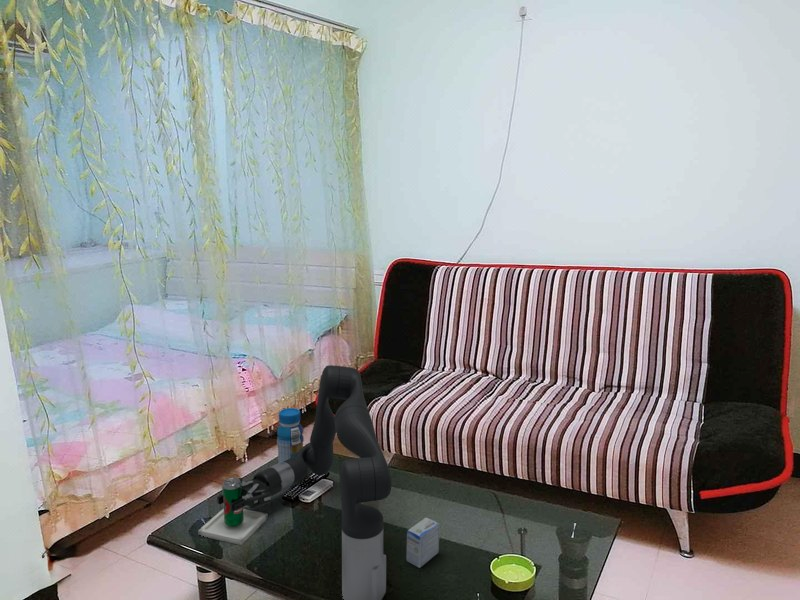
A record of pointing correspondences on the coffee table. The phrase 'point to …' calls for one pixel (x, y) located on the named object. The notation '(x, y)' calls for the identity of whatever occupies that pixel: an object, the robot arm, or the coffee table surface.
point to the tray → (236, 533)
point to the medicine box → (422, 542)
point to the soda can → (230, 495)
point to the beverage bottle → (289, 434)
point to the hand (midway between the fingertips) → (224, 504)
